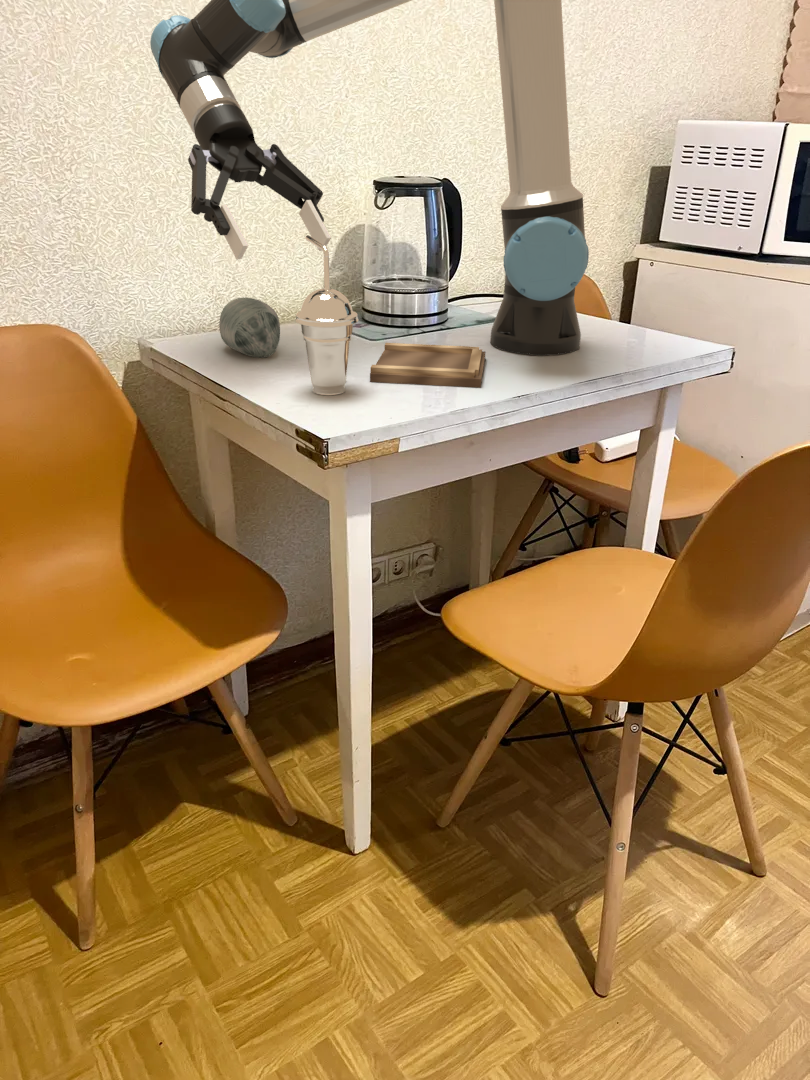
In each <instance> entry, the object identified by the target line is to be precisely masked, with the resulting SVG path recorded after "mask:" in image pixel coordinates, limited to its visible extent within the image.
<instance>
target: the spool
mask: <svg viewBox="0 0 810 1080" xmlns="http://www.w3.org/2000/svg"><path fill="white" fill-rule="evenodd" d="M218 325H219V326H218V328H219V334H220V337H221V339H222V341H223V342H224V344H226V346H228V347H229V348H231V349H232V350H234V351H236V352H239V353H241V354H243V355H245V356H249V357H251V358H252V357H253V358H267V357H270V356H272V355H273V354H274V353H275V352H276V350H277V348H278V346H279V343H280V340H281V337H280V336H281V323H280V318H279V316H278V314H277V312H276V310H275V309H274V308H273V307H272V306H271V305H269V304H268V303H266V302H263V301H261V300H259V299H256V298H252V297H246V296H245V297H238V298H234V299H233V300H230V301H229V302H228V303H227V304H226V305H225V306H224V307H223V309H222V311H221V313H220V316H219V322H218Z"/></svg>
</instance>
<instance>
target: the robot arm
mask: <svg viewBox="0 0 810 1080" xmlns="http://www.w3.org/2000/svg"><path fill="white" fill-rule="evenodd" d="M411 1H413V0H210V1H209V2H208V3H207V4H206V5H205V6H204V7H203V8H202V9H200V11H199V12H198V13H197V14H196V15H195V16H194V17H193V18H192V19H190V18H189V17H186V16H184V15H180V14H179V15H178V14H177V15H172V16H170V18H169V19H162V20H161V21H160V22H159V23H158V24H157V25H156V26H155V27H154V29H153V30H152V33H151V36H150V40H149V41H150V45H149V46H150V50H151V54H152V55H153V58H154V60H155V62H156V64H157V68H158V71H159V73H160V75H161V77H162V78H163V79H164V81H165V82H166V84H167V86H168V88H169V89H170V91H171V94H172V95H173V97H174V99H175V100H176V102H177V104H178V106H179V108H180V110H181V112H182V114H183V117H184V118H185V120H186V122H187V124H188V126H189V127H190V129H191V131H192V132H193V134H194V136H195V139H196V141H197V143H195V144H193V145H192V147H191V150H190V152H189V155H188V159H187V161H188V164H189V167H190V168H191V171H192V172H191V201H190V202H191V207H190V209H191V212H192V213H193V214H194V215H200V214H204V215H203V218H204V220H205V222H208V223H209V222H210V223H211V222H212V224H213V226H214V228H215V230H216V231H217V233H218V234H219V235H220V236H224V238H225V241H226V243H227V244H228V247H229V248H230V250H231V251H232V254H233V255H234V257H235V259H236V260H242V259H243V257H244V254H245V252H246V251H247V249H248V247H249V244H248V242H247V240H246V238H245V236H244V234H243V233H242V231H241V229H240V227H239V225H238V223H237V221H236V219H235V217H234V216H233V213H232V212H231V210H230V208H229V207H228V205H227V204H221V201H222V198H223V196H224V194H225V190H226V188H227V185H228V182H229V180H231V181H233V182H234V183H242V182H249V183H252V182H253V183H254V182H255V183H257V184H259V185H260V186H262V187H265V186H266V187H268V188H269V189H270V190H272V191H273V192H275V193H277V194H278V195H279V196H281V197H283V198H284V199H286V200H287V201H288V202H290V203H291V204H292V205H294V206H296V207H297V208H298V209H300V210H299V213H298V215H299V216H300V218H301V220H302V222H303V224H304V225H305V227H306V229H307V231H308V232H309V236H311V237H312V238H314V239H316V240H317V241H319V242H320V243H322V244H323V245H325V246H326V247H327V246H328V244H329V242H330V241H331V239H332V236H331V235H330V233H329V231H328V229H327V227H326V225H325V224H324V222H325V220H324V219H325V218H324V216H323V214H322V212H321V210H320V209H319V207H318V204H319V202H320V200H321V199H322V197H323V195H324V192H323V190H321V189H320V188H319V186H318V185H316V184H315V183H314V182H313V181H312V180H311V179H309V177H307V175H306V174H304V173H303V171H301V170H300V169H299V168H298V167H297V166H296V165H295V164H293V162H291V160H290V159H289V158H288V157H286V155H285V154H284V152H283V151H282V150H281V148H280V147H279V145H277V144H275V143H272V144H271V146H270V147H269V148H268V149H263V148H261V147H260V146H259V145H258V144H257V142H256V139H255V134H254V131H253V128H252V126H251V124H250V122H249V121H248V119H247V117H246V115H245V113H244V111H243V110H242V109H241V106H240V104H239V101H238V99H236V97H235V95H234V93H233V92H232V90H231V88H230V85H229V84H228V81H227V80H226V78H225V74H227V73H229V71H230V70H231V69H233V68H234V67H235V65H237V63H239V62H240V61H241V60H242V59H243V58H244V57H245V56H247V55H248V53H254V54H258V55H259V56H262V57H264V58H267V59H268V58H269V59H270V58H271V59H275V58H279V57H283V56H286V55H288V53H290V52H291V51H292V50H293V48H295V47H298V46H300V45H302V44H304V43H306V42H309V41H312V40H313V39H316V38H319V37H322V36H325V35H327V34H330V33H332V32H334V31H337V30H339V29H342V28H345V27H347V26H350V25H352V24H355V23H358V22H360V21H363V20H365V19H367V18H371V17H374V16H375V15H378V14H380V13H383V12H386V11H388V10H391V9H393V8H396V7H399V6H401V5H404V4H407V3H409V2H411ZM493 2H494V12H495V13H494V14H495V23H496V24H495V26H496V37H497V38H496V39H497V49H498V51H497V52H498V61H499V62H498V63H499V64H498V65H499V73H500V74H499V75H500V87H501V98H502V110H503V121H504V122H503V123H504V132H505V134H504V135H505V143H506V144H505V145H506V156H507V157H506V158H507V169H508V180H509V194H508V196H507V197H506V199H505V200H504V201H503V203H502V204H501V205H500V209H501V211H500V212H501V223H502V233H503V234H502V235H503V237H502V238H503V246H504V247H503V248H504V254H503V269H504V273H505V274H504V289H503V297H502V301H501V303H500V306H499V308H498V311H497V314H496V315H495V319H494V321H493V324H492V327H491V330H490V344H491V345H492V346H493V347H494V348H496V349H499V350H501V351H502V350H503V351H506V352H511V353H515V354H521V355H522V354H523V355H535V356H536V355H537V356H539V355H540V356H550V355H551V356H552V355H563V354H569V353H573V352H575V351H577V350H578V349H580V345H581V336H582V334H581V328H580V323H579V319H578V313H577V309H576V304H575V294H576V287H577V286H578V284H579V283H580V282H581V281H582V278H583V277H584V275H585V273H586V270H587V268H588V265H589V264H588V263H589V258H590V257H589V256H590V254H589V253H590V251H589V246H588V244H587V239H586V233H585V231H586V230H585V216H584V215H585V211H584V195H583V193H582V192H581V191H579V189H577V188H576V187H575V186H574V185H573V182H572V175H571V174H572V173H571V154H570V139H569V138H570V137H569V133H570V132H569V118H568V117H569V115H568V99H567V82H566V81H567V79H566V78H567V77H566V63H565V61H566V60H565V45H564V26H563V25H564V24H563V22H564V21H563V6H562V0H493ZM207 164H209V165H211V167H213V168H214V169H216V170H217V171H218V172H219V174H218V178H217V180H216V183H215V185H214V189H213V190H212V194H211V196H210V199H208V198H207V197H206V196H207V194H206V193H207V166H208V165H207ZM263 168H264V173H263V175H261V172H262V169H263ZM316 247H317V246H316ZM317 249H318V251H319V252H323V251H322V250H321V249H320V248H318V247H317Z"/></svg>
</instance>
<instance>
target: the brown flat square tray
mask: <svg viewBox="0 0 810 1080" xmlns="http://www.w3.org/2000/svg"><path fill="white" fill-rule="evenodd" d="M485 364H486V351H483V349H480V347H479V346H468V345H467V346H465V345H462V346H461V345H444V344H443V345H441V344H424V343H399V342H385V344H384V350H383V352H382V353H381V355H380V357H379V358H378V360H377V361H376V363H375V364H371V366H370V373H369V383H370V382H371V383H386V384H405V385H406V384H407V385H422V386H423V385H425V386H440V387H441V386H445V387H463V388H480V389H481V386H482V382H483V374H484V367H485Z"/></svg>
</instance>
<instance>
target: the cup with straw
mask: <svg viewBox="0 0 810 1080" xmlns="http://www.w3.org/2000/svg"><path fill="white" fill-rule="evenodd" d="M305 240H306V241H307V242H309V243H310V244H312V245H314V246H315V247H318V248H320V249H321V250H322V251H321V252H322V253H323V254H322V255H323V280H324V281H323V283H324V285H323V286H324V288H319V289H316V290H314V291H311V292H310V293H309V294H308V295H307V296H306V297H305V298H304V301H303V302H302V304H301V308H300V311H298V312H297V313H296V314H295V320H294V321H295V323H297V324H299V325H300V326H301V333H302V335H303V340H304V343H305V349H306V356H307V362H308V369H309V375H310V381H311V382H310V383H311V384H312V393H314V394H315V395H316V394H317V395H319V396H321V395H322V396H336V395H342V394H343V393H344V392H346V388H345V386H346V383H347V376H348V375H347V374H348V367H349V366H348V364H349V354H350V352H349V351H350V343H351V340H352V334H353V328H354V324H357V323H358V322H359V317H358V313H357V312H356V311H353V307H352V305H351V303H350V300H349V299H348V298H347V296H345V294H343V293H342V292H340V291H338V290H336V289H333V288H331V287H330V285H331V284H330V283H331V282H330V255H329V254H330V251H329V249H328V248H329V247H327V246H325V245H323V244H322V243H320V242H319V241H317V240H316V239H314V238H312V237H311V235H310V234H308V235H306V236H305ZM318 248H317V249H318Z"/></svg>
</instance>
